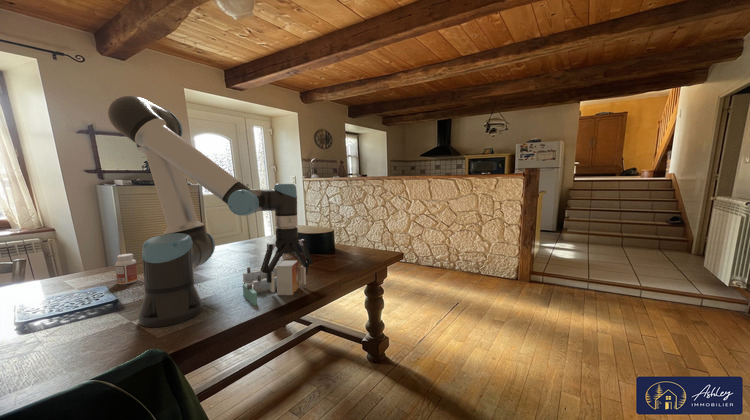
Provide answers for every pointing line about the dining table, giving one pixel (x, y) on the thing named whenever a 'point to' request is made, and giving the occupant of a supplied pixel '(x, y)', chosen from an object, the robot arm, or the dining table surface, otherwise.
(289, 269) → the small box
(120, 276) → the pill bottle
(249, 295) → the gate
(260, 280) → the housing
